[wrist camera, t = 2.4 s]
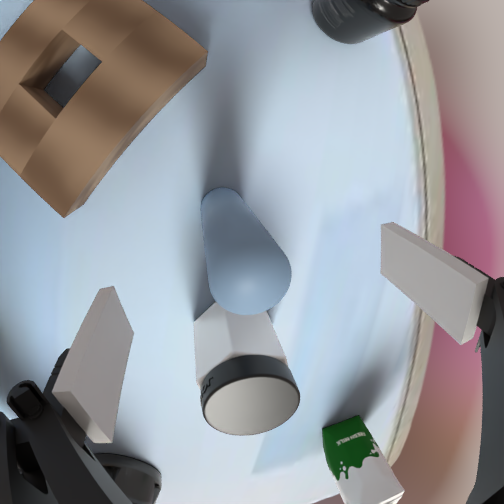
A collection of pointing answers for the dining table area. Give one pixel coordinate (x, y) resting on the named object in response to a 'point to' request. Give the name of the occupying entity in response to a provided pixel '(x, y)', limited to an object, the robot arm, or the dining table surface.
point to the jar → (242, 372)
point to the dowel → (241, 256)
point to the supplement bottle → (362, 17)
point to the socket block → (86, 90)
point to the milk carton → (359, 464)
